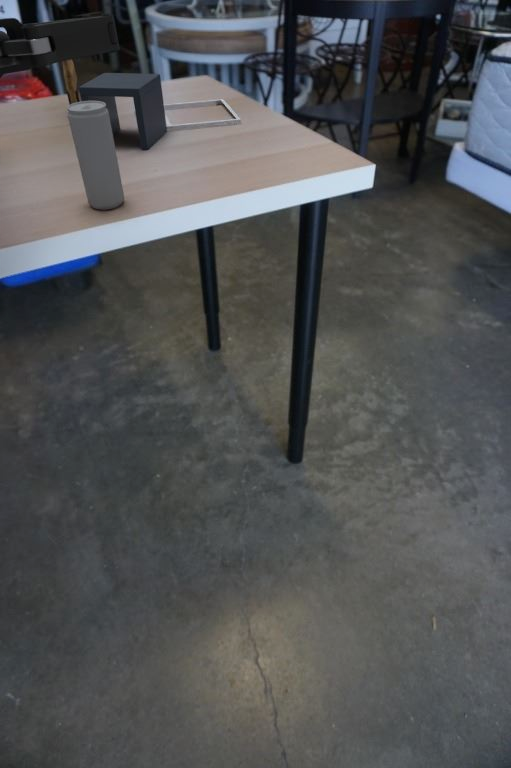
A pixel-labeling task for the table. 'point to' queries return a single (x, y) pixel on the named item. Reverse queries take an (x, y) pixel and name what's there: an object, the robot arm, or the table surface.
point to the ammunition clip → (71, 82)
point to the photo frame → (200, 124)
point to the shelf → (145, 101)
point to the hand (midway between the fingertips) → (34, 34)
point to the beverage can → (96, 153)
